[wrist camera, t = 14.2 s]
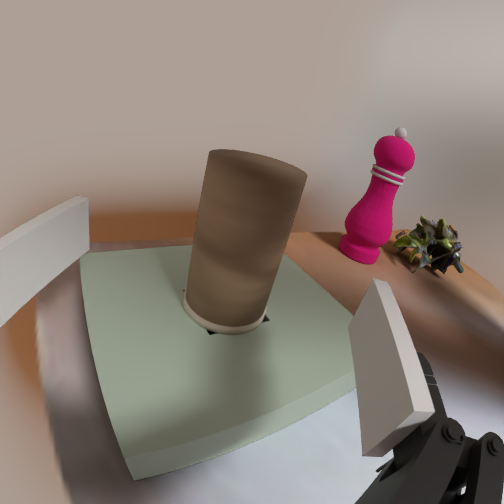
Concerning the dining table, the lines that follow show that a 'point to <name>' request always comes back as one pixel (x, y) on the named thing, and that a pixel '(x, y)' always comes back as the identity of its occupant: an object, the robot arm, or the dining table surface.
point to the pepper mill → (378, 200)
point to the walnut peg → (240, 239)
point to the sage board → (206, 359)
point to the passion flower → (432, 245)
